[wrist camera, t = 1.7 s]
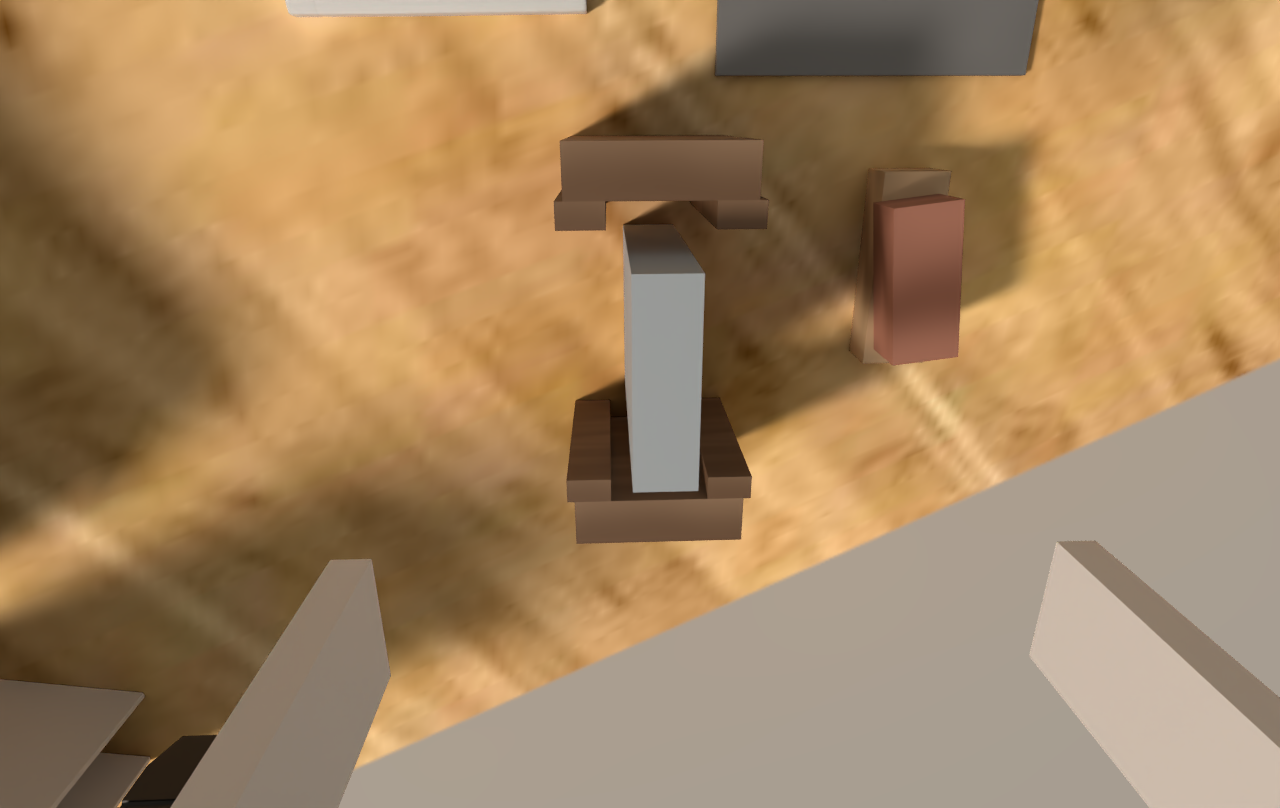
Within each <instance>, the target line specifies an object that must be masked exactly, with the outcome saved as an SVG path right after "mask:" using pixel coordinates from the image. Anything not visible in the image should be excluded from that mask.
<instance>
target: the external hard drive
mask: <svg viewBox="0 0 1280 808" xmlns="http://www.w3.org/2000/svg"><path fill="white" fill-rule="evenodd" d="M285 1H286V5H287V8H288V12H289V14H290V15H293V16H296V17H377V16H471V15H553V14H587V0H285Z"/></svg>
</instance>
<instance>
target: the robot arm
mask: <svg viewBox="0 0 1280 808" xmlns="http://www.w3.org/2000/svg"><path fill="white" fill-rule="evenodd" d="M1029 656H1030V658H1031V659H1032V660H1033V661H1034V663H1035V664H1036V665H1037V666H1038V668H1039V669H1040V670H1041V671H1042V673H1043V674H1044V675H1045V676H1046V678H1047V679H1048V680H1049V681H1050V683H1051V684H1052V685H1053V687H1054V688H1055V689H1056V690H1057V692H1058V693H1059V694H1060V695H1061V697H1062V698H1063V699H1064V700H1065V702H1066V703H1067V704H1068V705H1069V707H1070V708H1071V709H1072V710H1073V712H1074V713H1075V714H1076V716H1077V717H1078V718H1079V719H1080V720H1081V722H1082V723H1083V724H1084V726H1085V727H1086V728H1087V729H1088V731H1089V732H1090V733H1091V734H1092V735H1093V737H1094V738H1095V739H1096V741H1097V742H1098V743H1099V745H1101V747H1102V748H1103V750H1104V751H1105V752H1106V753H1107V755H1108V756H1109V757H1110V758H1111V760H1112V761H1113V762H1114V763H1115V764H1116V766H1117V767H1118V768H1119V770H1120V771H1121V772H1122V773H1123V775H1124V776H1125V777H1126V779H1127V780H1128V781H1129V782H1130V784H1131V785H1132V786H1133V787H1134V789H1135V790H1136V791H1137V792H1138V794H1139V795H1140V796H1141V797H1142V799H1143V800H1144V801H1145V802H1146V804H1147V805H1148V806H1149V808H1280V697H1278V696H1277V695H1276V694H1275V693H1274V692H1272V691H1271V690H1270V689H1269V688H1268V687H1267V686H1265V685H1264V684H1263V683H1262V682H1261V681H1259V680H1258V679H1257V678H1256V677H1255V676H1254V675H1253V674H1251V673H1250V672H1249V671H1248V670H1246V669H1245V668H1244V667H1243V666H1242V665H1241V664H1240V663H1238V662H1237V661H1236V660H1235V659H1234V658H1233V657H1231V656H1230V655H1229V654H1228V653H1227V652H1226V651H1224V650H1223V649H1222V648H1221V647H1220V646H1218V645H1217V644H1216V643H1215V642H1214V641H1212V640H1211V639H1210V638H1209V637H1208V636H1207V635H1206V634H1204V633H1203V632H1202V631H1201V630H1200V629H1198V628H1197V627H1196V626H1195V625H1194V624H1193V623H1191V622H1190V621H1189V620H1188V619H1187V618H1186V617H1184V616H1183V615H1182V614H1181V613H1179V612H1178V611H1177V610H1176V609H1175V608H1174V607H1173V606H1171V605H1170V604H1169V603H1168V602H1167V601H1166V600H1164V599H1163V598H1162V597H1161V596H1160V595H1159V594H1157V593H1156V592H1155V591H1154V590H1153V589H1151V588H1150V587H1149V586H1148V585H1147V584H1146V583H1144V582H1143V581H1142V580H1141V579H1140V578H1139V577H1137V576H1136V575H1135V574H1134V573H1133V572H1132V571H1130V570H1129V569H1128V568H1127V567H1126V566H1124V565H1123V564H1122V563H1121V562H1120V561H1118V560H1117V559H1116V558H1115V557H1114V556H1113V555H1111V554H1110V553H1109V552H1108V551H1107V550H1106V549H1104V548H1103V547H1102V546H1101V545H1099V543H1097V542H1096V541H1065V542H1057V543H1056V547H1055V551H1054V555H1053V559H1052V564H1051V568H1050V572H1049V576H1048V580H1047V584H1046V588H1045V593H1044V597H1043V601H1042V606H1041V609H1040V613H1039V618H1038V622H1037V626H1036V630H1035V634H1034V638H1033V643H1032V647H1031V650H1030V655H1029ZM390 676H391V674H390V668H389V662H388V656H387V650H386V643H385V637H384V631H383V625H382V619H381V613H380V607H379V601H378V594H377V588H376V582H375V576H374V570H373V564H372V559H345V560H330V561H329V562H328V564H327V566H326V567H325V569H324V570H323V572H322V573H321V575H320V576H319V578H318V580H317V581H316V583H315V584H314V586H313V587H312V589H311V590H310V592H309V593H308V595H307V597H306V598H305V600H304V601H303V603H302V604H301V606H300V607H299V609H298V611H297V612H296V614H295V615H294V617H293V618H292V620H291V621H290V623H289V624H288V626H287V628H286V629H285V631H284V632H283V634H282V635H281V637H280V638H279V640H278V642H277V643H276V645H275V646H274V648H273V649H272V651H271V652H270V654H269V656H268V657H267V659H266V660H265V662H264V663H263V665H262V666H261V668H260V669H259V671H258V673H257V674H256V676H255V677H254V679H253V680H252V682H251V683H250V685H249V687H248V688H247V690H246V691H245V693H244V694H243V696H242V697H241V699H240V700H239V702H238V704H237V705H236V707H235V708H234V710H233V711H232V713H231V714H230V716H229V718H228V719H227V721H226V722H225V724H224V725H223V727H222V728H221V730H220V731H219V733H218V735H203V736H182V737H181V738H180V739H179V740H178V741H176V742H175V743H174V744H173V745H172V746H170V747H169V748H168V749H167V750H166V751H164V752H163V753H162V754H161V755H160V756H158V757H157V758H156V759H155V760H154V761H152V762H151V763H150V764H149V765H148V766H147V767H146V768H145V770H144V771H143V772H142V774H141V775H140V776H139V778H138V779H137V781H136V782H135V783H134V785H133V786H132V787H131V789H130V790H129V792H128V793H127V794H126V796H125V797H124V799H123V800H122V805H121V807H120V808H338V807H339V804H340V802H341V799H342V797H343V794H344V792H345V789H346V787H347V784H348V782H349V779H350V777H351V774H352V772H353V769H354V767H355V764H356V762H357V759H358V757H359V754H360V752H361V749H362V747H363V744H364V742H365V739H366V737H367V734H368V732H369V729H370V727H371V724H372V722H373V719H374V717H375V714H376V712H377V709H378V706H379V704H380V701H381V699H382V696H383V694H384V691H385V689H386V686H387V684H388V681H389V679H390Z"/></svg>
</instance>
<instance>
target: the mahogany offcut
mask: <svg viewBox="0 0 1280 808" xmlns="http://www.w3.org/2000/svg"><path fill="white" fill-rule="evenodd" d="M964 209H965V199H961V198H957V197H952V196H947V195H943V194H933V195H926V196H918V197H911V198H903V199H896V200H888V201H881V202H873V308H874V350H875V351H876V352H877V353H879V354H880V355H881V356H882V357H883V358H884V359H886V360H887V361H888V362H889V363H890V364H891V365H900V364H908V363H915V362H923V361H931V360H938V359H946V358H953V357H958V345H959V322H960V300H961V277H962V254H963V232H964Z"/></svg>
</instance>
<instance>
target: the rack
mask: <svg viewBox="0 0 1280 808" xmlns="http://www.w3.org/2000/svg"><path fill="white" fill-rule="evenodd" d="M763 144H764V140H759V139H751V138H742V137H734V136H726V135H678V136H570V137H568V138H566V139H563V140H561V141H560V157H561V181H562V190H561V192H560V193H559V195H558V196H557V198H556V199H555V201H554V218H555V231H580V230H606V201H690V203H691V204H692V205H693V206H694V207H695V208H696V209H697V210H698V211H699V212H700V213H701V214H702V215H703V216H704V217H705V218H706V219H707V220H708V221H709V222H710V223H711V224H712V225H713V226H714V227H715V228H716V229H767V219H768V203H769V200H768V199H766V198H763V197H761V179H762V162H763ZM751 480H752V476H751V474H750V471H749V469H748V466H747V464H746V461H745V459H744V456H743V454H742V451H741V449H740V447H739V444H738V442H737V439H736V437H735V434H734V432H733V429H732V427H731V424H730V422H729V420H728V417H727V415H726V412H725V410H724V407H723V405H722V402H721V400H720V398H701V422H700V455H699V487H698V491H677V492H636V493H633V486H632V472H631V458H630V445H629V431H628V417H610V400H576V402H575V411H574V419H573V428H572V437H571V446H570V455H569V464H568V473H567V500H568V502H575V517H576V541H577V544H583V543H621V542H659V541H697V540H735V539H741V529H742V512H743V498H750V497H751Z"/></svg>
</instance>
